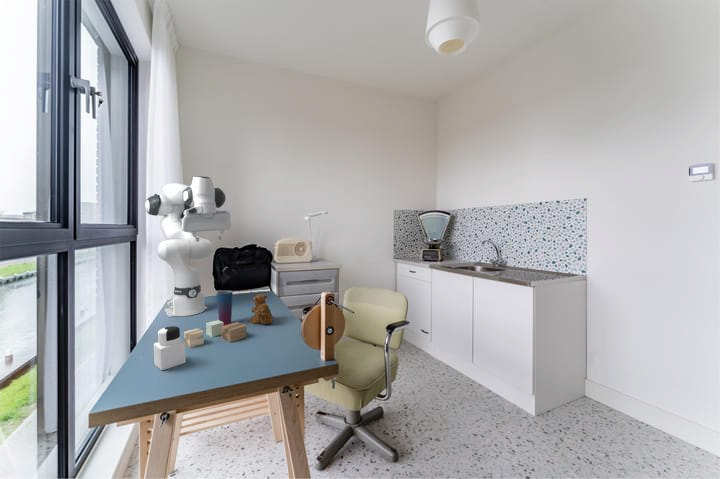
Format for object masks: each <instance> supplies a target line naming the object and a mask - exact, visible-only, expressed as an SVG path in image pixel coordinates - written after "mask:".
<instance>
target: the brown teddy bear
mask: <svg viewBox="0 0 720 479" xmlns="http://www.w3.org/2000/svg"><path fill="white" fill-rule="evenodd" d="M267 297H268V294H261V293H260V294H257V295H255V297H253V300H252V301H251V302H250V303H251V304H253V303H254V305H255V306H254V307H251V310H250V312H251V313H254V315H253V316H252V317H251V318H249V319H248V322H249V323H250V324H252V325H260V324H261V325H263V326H266V325H270V324H272V322H273V321H274V319H273V318H274V317H273V314H272V312H271V309H270V308H269V307H270V306H269V305H268V304H267V302H266V299H267Z"/></svg>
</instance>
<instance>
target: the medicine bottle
mask: <svg viewBox="0 0 720 479" xmlns="http://www.w3.org/2000/svg"><path fill="white" fill-rule="evenodd" d="M180 331H181V329H180V327H178V326H173V325H172V326H171V325H170V326H166V327H163V328H161V329H159V330H158V332H157V342H154V343H153V361H154V362H153V364H154V365H155V366H156V367H157V368H158V369H159V370H160V371H164V370H168V369H171V368H174V367H177V366H179V365H183V364H185V363H186V358H187V357H186V345H185V342H184V340H182V339H181V332H180Z"/></svg>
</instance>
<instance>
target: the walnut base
mask: <svg viewBox="0 0 720 479" xmlns="http://www.w3.org/2000/svg"><path fill="white" fill-rule="evenodd" d="M247 327H248V326H247V325H246V324H243V323H240V322H238V321H236V322H233V323H232V322H231V324H229V325H225V326H221V335H220V336H221V339H222V340H225V341H226V342H229V343H233V342H236V341H238V340H242V339H245V338H247V337H248V335H247V334H248V332H247Z"/></svg>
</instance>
